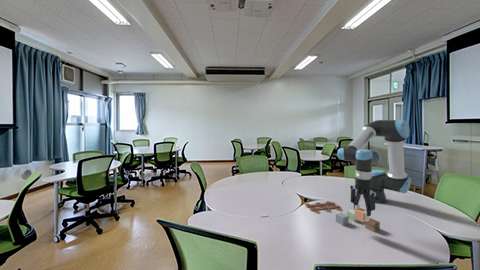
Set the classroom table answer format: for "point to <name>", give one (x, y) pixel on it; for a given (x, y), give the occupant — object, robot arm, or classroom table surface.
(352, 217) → the sage block
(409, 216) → the classroom table surface
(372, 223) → the walnut block
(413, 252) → the classroom table surface
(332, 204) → the decorative fence
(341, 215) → the slate block
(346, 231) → the classroom table surface
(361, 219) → the terracotta block
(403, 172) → the robot arm
